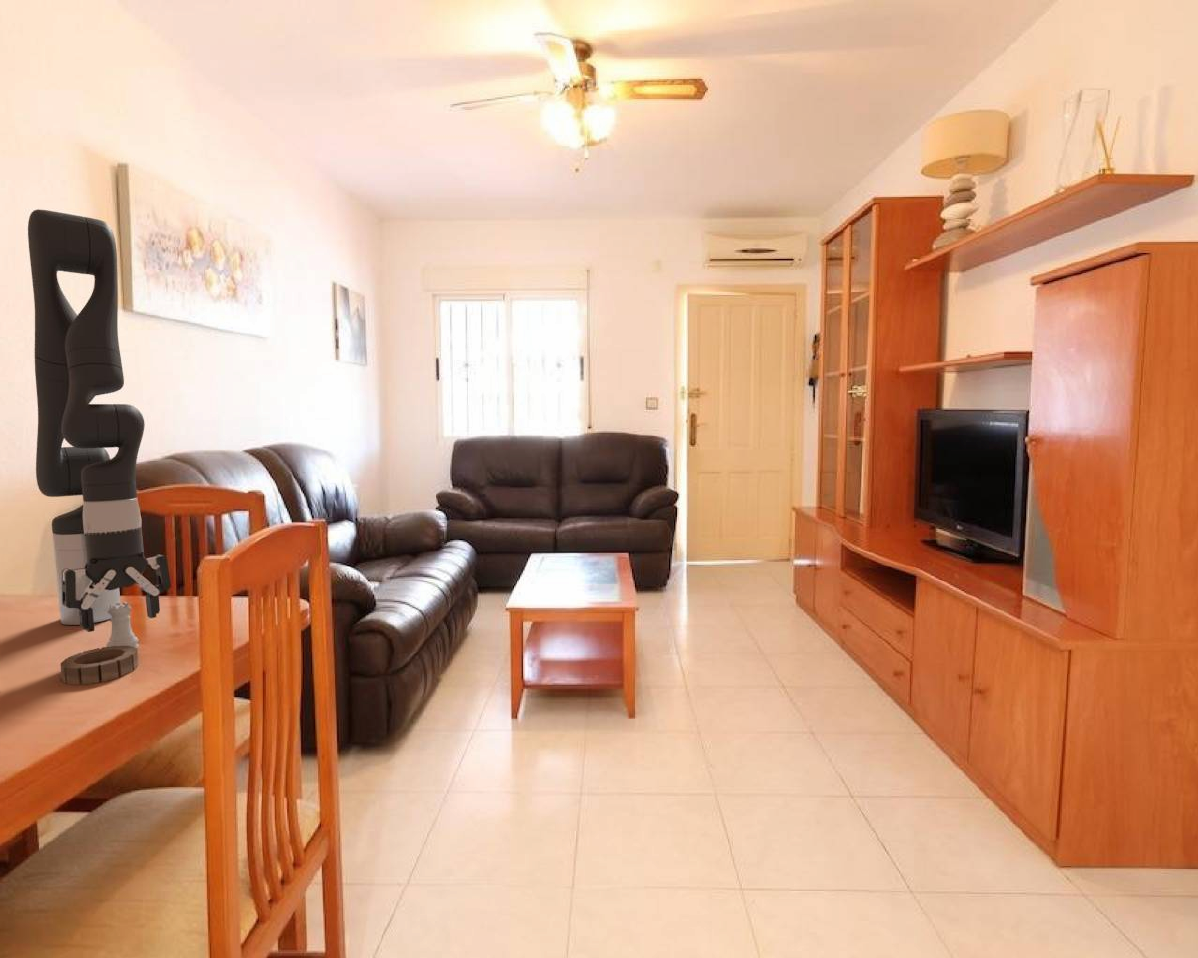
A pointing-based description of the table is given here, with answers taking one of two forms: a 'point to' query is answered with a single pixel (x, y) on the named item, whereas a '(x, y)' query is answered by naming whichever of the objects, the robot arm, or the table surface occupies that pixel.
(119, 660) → the walnut ring bead
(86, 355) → the robot arm
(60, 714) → the table surface
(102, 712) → the table surface
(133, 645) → the rook chess piece
